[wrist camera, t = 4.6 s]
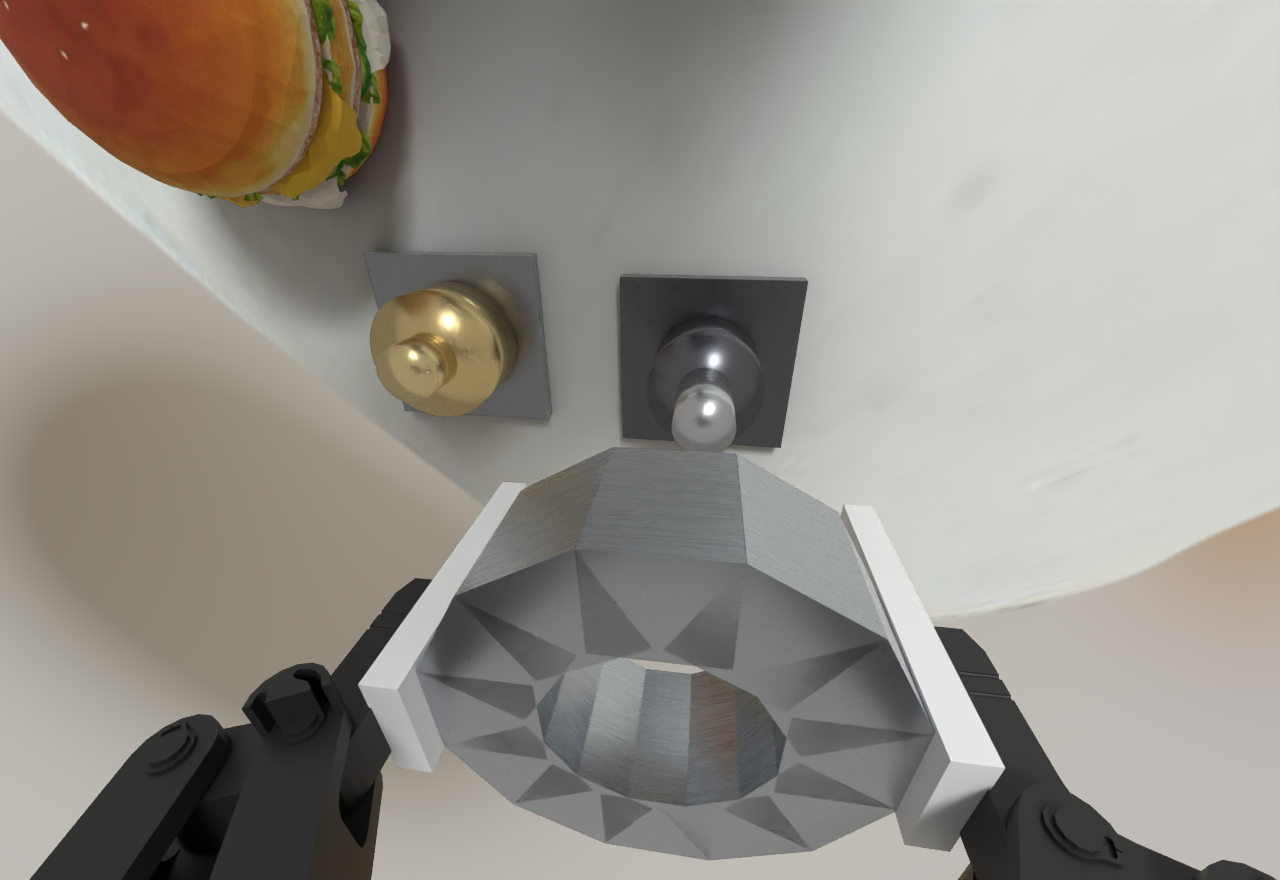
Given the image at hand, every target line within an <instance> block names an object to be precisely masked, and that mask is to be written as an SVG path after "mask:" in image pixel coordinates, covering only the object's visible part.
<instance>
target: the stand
mask: <svg viewBox="0 0 1280 880" xmlns="http://www.w3.org/2000/svg"><path fill="white" fill-rule="evenodd" d="M807 284H808V281H807V280H806V279H805V278H786V277H738V276H691V275H644V274H622V275H621V276H620V306H621V357H622V409H623V438H636V439H652V440H668V441H676V443H677V444H678V445H679V446H680V447H681V448H682V449H683V450H685V451H697V452H715V453H720V452H722V451H723V450H725V449H726V448H727V447H728V446H729V445H730V444H731V445H746V446H762V447H778V448H781V442H782V436H783V430H784V424H785V418H786V412H787V406H788V400H789V394H790V388H791V381H792V375H793V369H794V363H795V357H796V351H797V345H798V339H799V333H800V327H801V321H802V315H803V308H804V302H805V296H806V290H807Z"/></svg>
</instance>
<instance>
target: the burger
mask: <svg viewBox="0 0 1280 880" xmlns="http://www.w3.org/2000/svg"><path fill="white" fill-rule="evenodd" d="M0 39H1V40H2V42H3V43H4V44H5V46H6V47H7V49H8V50H9V51H10V53H11V54H12V55H13V57H14V58H15V60H16V61H17V62H18V64H19V65H20V66H21V68H22V69H23V71H24V72H25V73H26V75H27V76H28V78H29V79H30V80H31V82H32V83H33V84H34V86H35V87H36V88H37V89H38V90H39V91H40V92H41V93H42V94H43V95H44V96H45V97H46V98H47V99H48V100H49V102H50V103H51V104H52V105H53V106H54V107H55V108H56V109H57V110H58V111H59V112H60V113H61V114H62V115H63V116H64V117H65V118H66V119H67V120H68V121H69V122H70V123H72V124H73V125H74V126H75V127H77V128H78V129H79V130H80V131H82V132H83V133H84V134H85V135H87V136H88V137H89V138H91V139H92V140H93V141H94V142H96V143H97V144H98V145H99V146H101V147H102V148H103V149H104V150H106V151H107V152H108V153H110V154H111V155H113V156H114V157H116V158H117V159H119V160H120V161H122V162H123V163H125V164H127V165H129V166H131V167H133V168H135V169H137V170H138V171H140V172H142V173H144V174H146V175H148V176H150V177H152V178H154V179H155V180H157V181H160V182H162V183H165V184H167V185H169V186H172V187H176V188H180V189H183V190H187V191H191V192H194V193H197V194H198V195H200V196H202V195H207V196H208V197H209V198H211V199H212V198H214V197H218V198H222V199H225V200H228V201H230V202H232V203H234V204H236V205H238V206H240V207H242V208H245V207H248V206H252V205H254V204H258V203H259V202H260V201H262V202H265V203H267V204H272V205H278V206H302V207H308V208H315V209H334V208H338V207H340V206H342V204H343V202H344V199H345V197H346V196H347V195H348V193H347V192H346V191H343V192H340V191H339V187H340V186H342V185H344V183H345V180H346V179H347V178H349V177H351V176H352V175H354V174H356V172H357V171H358V170H359V168H360V167H361V166H362V165H363V163H364V162H365V161H366V160H367V158H368V157H369V156H370V155H371V153H372V151H373V149H374V147H375V145H376V143H377V141H378V139H379V137H380V134H381V130H382V125H383V120H384V116H385V111H386V107H387V102H388V89H387V75H386V65H387V64H388V62H389V57H390V51H391V44H390V37H389V30H388V21H387V14H386V12H385V11H384V10H383V9H382V7H381V6H380V5H379V3H378V2H377V1H376V0H0Z"/></svg>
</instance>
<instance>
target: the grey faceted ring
mask: <svg viewBox="0 0 1280 880" xmlns="http://www.w3.org/2000/svg"><path fill="white" fill-rule="evenodd" d="M624 658H631V659H639V660H649V661H658V662H667V663H675V664H684V665H693V666H697V667H699V668H701V669H703V670H705V671H703V672H699V673H695V674H684V673H675V672H667V671H658V670H650V669H644V668H643V667H640V666H639V665H636V664H634V663H632V662H630V661H628V660H626V659H624ZM416 673H417V676H418V679H419V681H420V684H421V687H422V689H423V692H424V694H425V697H426V700H427V702H428V705H429V708H430V710H431V713H432V716H433V718H434V721H435V723H436V726H437V729H438V731H439V734H440V737H441V739H442V742H443V744H444V746H445V747H447V748H448V749H449V750H450V751H451V752H453V753H454V754H455V755H456V756H457V757H458V758H460V759H461V760H462V761H463V762H464V763H465V764H467V765H468V766H469V767H470V768H471V769H473V770H474V771H475V772H476V773H477V774H478V775H480V776H481V777H482V778H483V779H484V780H485V781H487V782H488V783H489V784H490V785H491V786H493V787H494V788H495V789H496V790H497V791H498V792H499V793H501V794H502V795H503V796H504V797H505V798H507V799H508V800H509V801H510V802H511V803H513V804H515V805H517V806H519V807H521V808H524V809H526V810H528V811H531V812H533V813H535V814H538V815H540V816H542V817H545V818H547V819H550V820H552V821H555V822H557V823H559V824H561V825H564V826H566V827H568V828H571V829H573V830H576V831H578V832H580V833H582V834H585V835H587V836H589V837H592V838H594V839H597V840H599V841H601V842H603V843H607V844H613V845H619V846H625V847H632V848H637V849H643V850H649V851H656V852H662V853H668V854H674V855H680V856H686V857H692V858H698V859H704V860H718V859H729V858H741V857H752V856H762V855H774V854H784V853H797V852H806V851H813V850H816V849H818V848H820V847H822V846H824V845H826V844H828V843H830V842H833V841H835V840H837V839H839V838H841V837H843V836H845V835H847V834H849V833H851V832H854V831H856V830H858V829H860V828H862V827H864V826H866V825H868V824H870V823H872V822H874V821H877V820H879V819H881V818H883V817H885V816H887V815H889V814H891V813H893V812H896V810H897V808H898V806H899V804H900V802H901V800H902V798H903V796H904V794H905V792H906V790H907V788H908V786H909V784H910V782H911V780H912V778H913V776H914V774H915V772H916V770H917V768H918V766H919V764H920V762H921V760H922V758H923V756H924V754H925V752H926V750H927V748H928V746H929V744H930V742H931V740H932V738H933V736H934V734H935V732H934V730H933V727H932V725H931V722H930V720H929V717H928V715H927V713H926V710H925V708H924V705H923V703H922V700H921V698H920V695H919V693H918V691H917V688H916V686H915V683H914V681H913V678H912V676H911V674H910V671H909V669H908V666H907V664H906V661H905V659H904V657H903V654H902V652H901V649H900V647H899V644H898V642H897V639H896V637H895V635H894V632H893V630H892V627H891V625H890V622H889V620H888V618H887V615H886V613H885V610H884V608H883V605H882V603H881V601H880V598H879V596H878V593H877V591H876V589H875V587H874V585H873V583H872V581H871V579H870V577H869V575H868V572H867V570H866V568H865V566H864V564H863V562H862V560H861V558H860V556H859V554H858V552H857V550H856V548H855V546H854V544H853V542H852V540H851V538H850V536H849V534H848V532H847V529H846V527H845V525H844V523H843V521H842V519H841V517H840V515H839V513H838V512H837V511H836V510H834V509H832V508H830V507H829V506H827V505H825V504H823V503H822V502H820V501H818V500H816V499H815V498H813V497H811V496H809V495H808V494H806V493H804V492H802V491H801V490H799V489H797V488H795V487H794V486H792V485H790V484H788V483H787V482H785V481H783V480H782V479H780V478H778V477H776V476H775V475H773V474H771V473H769V472H768V471H766V470H764V469H762V468H761V467H759V466H757V465H755V464H754V463H752V462H750V461H748V460H747V459H745V458H743V457H741V456H740V455H738V454H734V453H715V452H697V451H679V450H661V449H642V448H624V447H612V448H610V449H608V450H606V451H603V452H601V453H599V454H597V455H595V456H593V457H591V458H588V459H586V460H584V461H582V462H580V463H578V464H576V465H574V466H571V467H569V468H567V469H565V470H563V471H561V472H559V473H556V474H554V475H552V476H550V477H548V478H546V479H544V480H542V481H539V482H537V483H535V484H533V485H531V486H529V487H527V488H524V489H522V490H521V491H520V492H519V494H518V496H517V497H516V499H515V500H514V502H513V503H512V505H511V507H510V508H509V510H508V511H507V513H506V514H505V516H504V518H503V519H502V521H501V522H500V524H499V525H498V527H497V529H496V530H495V532H494V533H493V535H492V537H491V538H490V540H489V541H488V543H487V544H486V546H485V548H484V549H483V551H482V552H481V554H480V555H479V557H478V559H477V560H476V562H475V563H474V565H473V567H472V568H471V570H470V571H469V573H468V574H467V576H466V578H465V579H464V581H463V582H462V584H461V585H460V587H459V589H458V590H457V592H456V593H455V595H454V597H453V599H452V600H451V602H450V604H449V606H448V608H447V610H446V612H445V614H444V616H443V618H442V620H441V622H440V624H439V626H438V628H437V630H436V632H435V634H434V636H433V638H432V640H431V642H430V644H429V646H428V648H427V650H426V652H425V654H424V656H423V658H422V660H421V662H420V664H419V665H418V667H417V669H416Z"/></svg>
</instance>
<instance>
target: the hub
mask: <svg viewBox="0 0 1280 880" xmlns="http://www.w3.org/2000/svg"><path fill="white" fill-rule="evenodd" d="M364 256H365V260H366V264H367V268H368V272H369V275H370V279H371V283H372V287H373V291H374V294H375V298H376V302H377V306H378V310H379V311H378V313H377V314H376V316H375V318H374V320H373V323H372V326H371V332H370V346H371V352H372V357H373V360H374V363H375V365H376V369H377V374H378V377H379V379H380V381H381V383H382V384H383V386H384V387H385V388H386V389H387V391H389V392H390V393H391V394H392V395H393V396H395V397H396V398H398V399H400V400H402V401H403V405H404V409H405V411H416V412H424V413H427V414H430V415H434V416H440V417H454V416H460V415H463V414H466V415H483V416H499V417H516V418H533V419H548V418H549V416H550V415H551V414H552V408H551V398H550V388H549V378H548V368H547V357H546V347H545V337H544V327H543V317H542V307H541V297H540V286H539V276H538V266H537V256H536V254H517V253H455V252H394V251H373V252H367V253H364Z"/></svg>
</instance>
